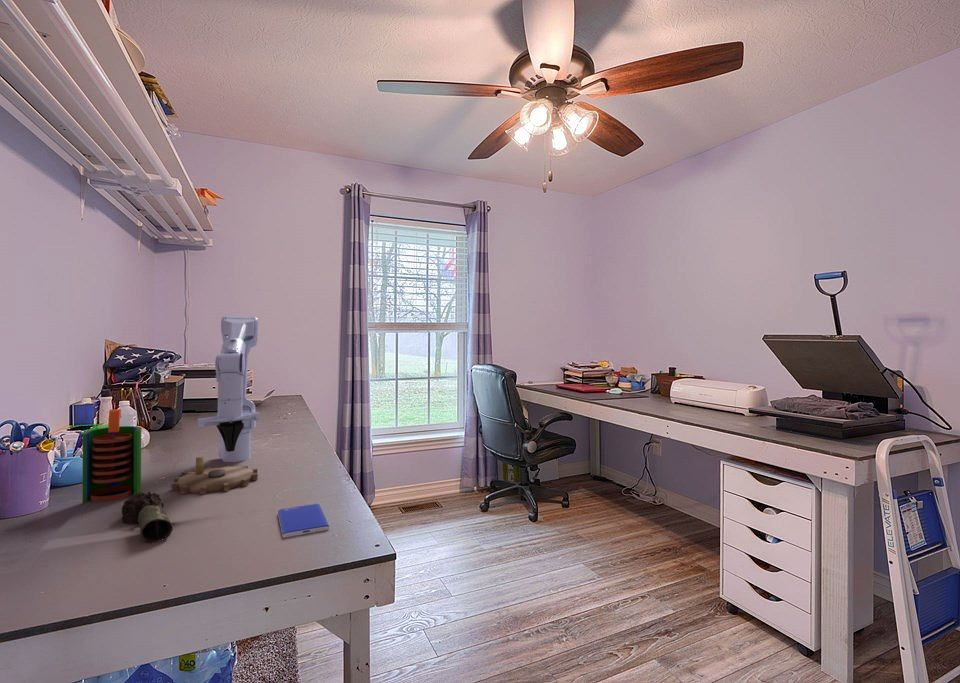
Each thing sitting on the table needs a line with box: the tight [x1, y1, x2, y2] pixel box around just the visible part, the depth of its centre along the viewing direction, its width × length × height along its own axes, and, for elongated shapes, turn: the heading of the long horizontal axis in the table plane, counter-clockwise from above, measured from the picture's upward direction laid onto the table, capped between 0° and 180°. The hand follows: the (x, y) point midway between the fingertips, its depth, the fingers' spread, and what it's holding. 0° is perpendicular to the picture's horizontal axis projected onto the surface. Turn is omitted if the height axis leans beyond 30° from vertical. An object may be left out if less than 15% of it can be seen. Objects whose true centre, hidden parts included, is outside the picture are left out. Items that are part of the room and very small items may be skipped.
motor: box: [81, 408, 142, 506], centre depth 102 cm, size 10×9×20 cm
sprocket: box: [171, 456, 259, 495], centre depth 112 cm, size 18×18×6 cm
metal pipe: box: [121, 491, 174, 543], centre depth 88 cm, size 18×7×6 cm, turn 41°
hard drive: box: [277, 503, 330, 539], centre depth 91 cm, size 2×8×12 cm
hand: (230, 450), depth 120 cm, fingers closed
